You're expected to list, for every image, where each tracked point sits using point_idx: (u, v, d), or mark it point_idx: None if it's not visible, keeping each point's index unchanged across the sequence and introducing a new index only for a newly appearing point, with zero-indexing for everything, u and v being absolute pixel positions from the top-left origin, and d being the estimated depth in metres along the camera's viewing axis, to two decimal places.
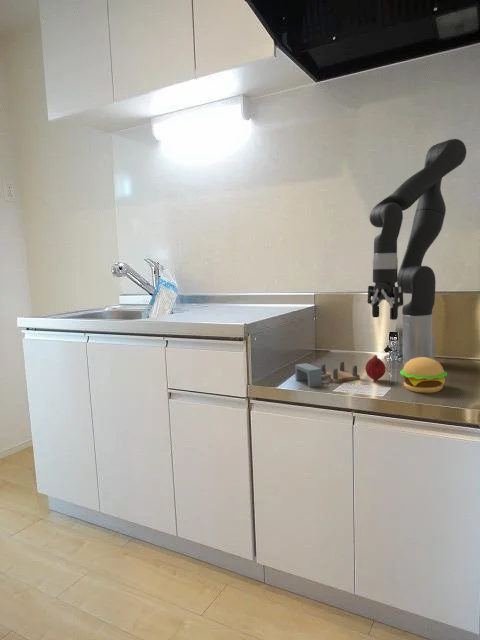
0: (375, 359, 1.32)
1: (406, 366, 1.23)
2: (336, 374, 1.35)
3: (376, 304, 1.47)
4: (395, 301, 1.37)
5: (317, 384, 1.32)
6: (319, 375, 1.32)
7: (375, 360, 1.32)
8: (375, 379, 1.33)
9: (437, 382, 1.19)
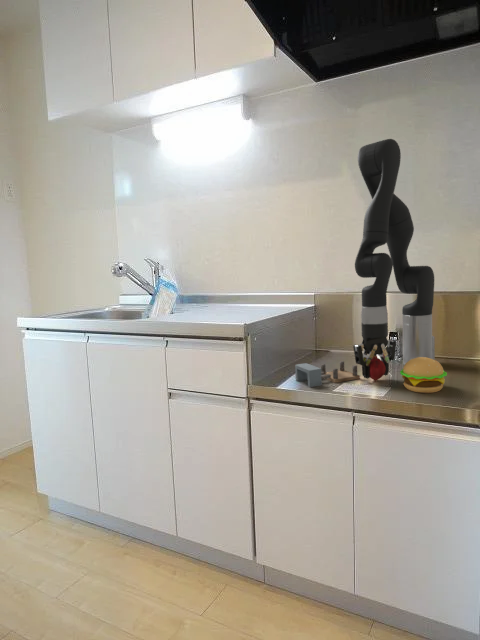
0: (374, 359, 1.32)
1: (406, 366, 1.23)
2: (336, 374, 1.35)
3: None
4: (392, 355, 1.34)
5: (317, 384, 1.32)
6: (319, 375, 1.32)
7: (375, 360, 1.32)
8: (375, 379, 1.33)
9: (437, 382, 1.19)
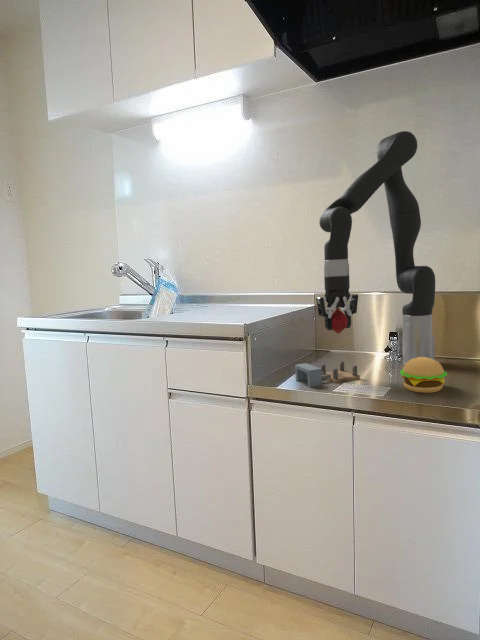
0: (337, 312, 1.36)
1: (406, 366, 1.23)
2: (336, 374, 1.35)
3: None
4: (355, 308, 1.38)
5: (317, 384, 1.32)
6: (319, 375, 1.32)
7: (338, 312, 1.36)
8: (338, 331, 1.37)
9: (437, 382, 1.19)
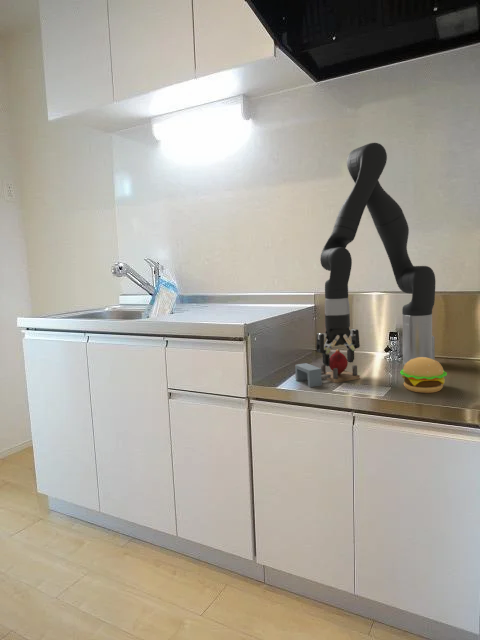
0: (337, 354, 1.38)
1: (406, 366, 1.23)
2: (336, 374, 1.35)
3: None
4: (357, 343, 1.40)
5: (317, 384, 1.32)
6: (319, 375, 1.32)
7: (338, 354, 1.38)
8: (338, 373, 1.39)
9: (437, 382, 1.19)
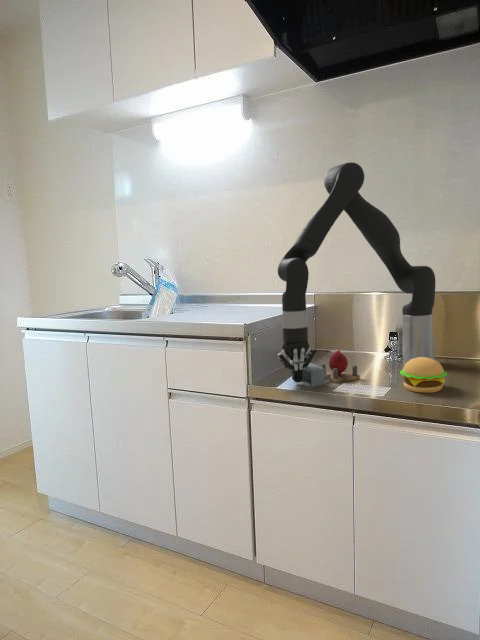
0: (337, 354, 1.38)
1: (406, 366, 1.23)
2: (336, 374, 1.35)
3: None
4: (307, 362, 1.34)
5: (320, 383, 1.33)
6: (322, 374, 1.32)
7: (338, 354, 1.38)
8: (338, 373, 1.39)
9: (437, 382, 1.19)
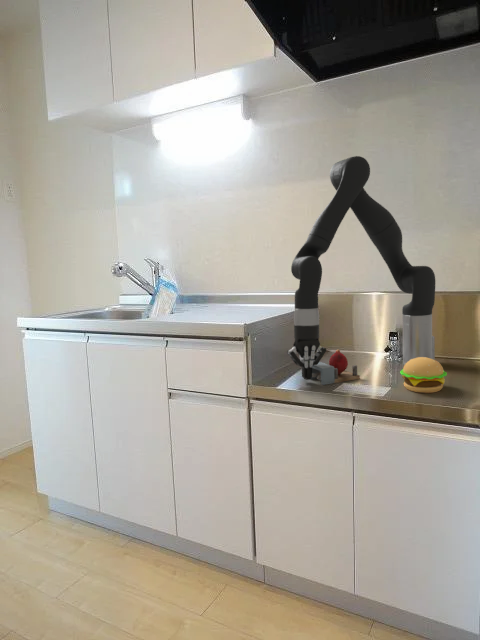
0: (337, 354, 1.38)
1: (406, 366, 1.23)
2: (336, 374, 1.35)
3: None
4: (317, 360, 1.35)
5: (330, 382, 1.34)
6: (332, 373, 1.34)
7: (338, 354, 1.38)
8: (338, 373, 1.39)
9: (437, 382, 1.19)
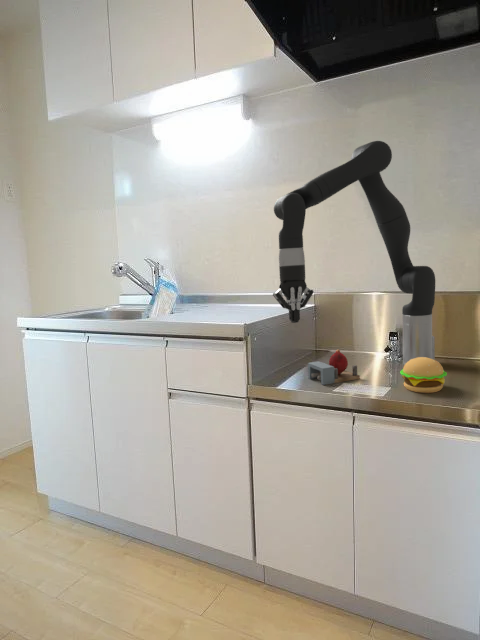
0: (337, 354, 1.38)
1: (406, 366, 1.23)
2: (336, 374, 1.35)
3: None
4: (304, 302, 1.32)
5: (330, 382, 1.34)
6: (332, 373, 1.34)
7: (338, 354, 1.38)
8: (338, 373, 1.39)
9: (437, 382, 1.19)
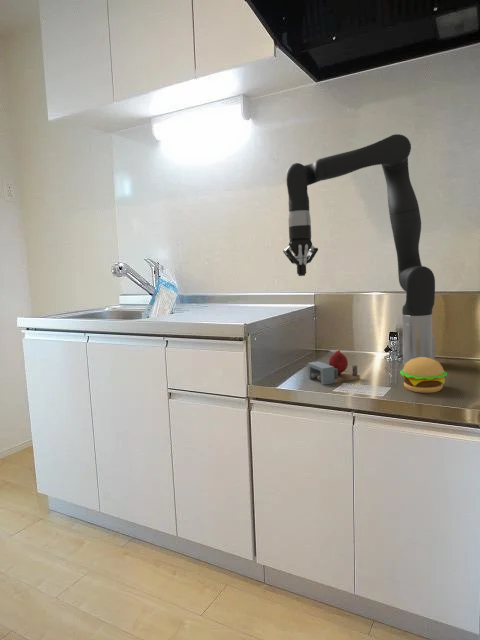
0: (337, 354, 1.38)
1: (406, 366, 1.23)
2: (336, 374, 1.35)
3: None
4: (310, 258, 1.54)
5: (330, 382, 1.34)
6: (332, 373, 1.34)
7: (338, 354, 1.38)
8: (338, 373, 1.39)
9: (437, 382, 1.19)
